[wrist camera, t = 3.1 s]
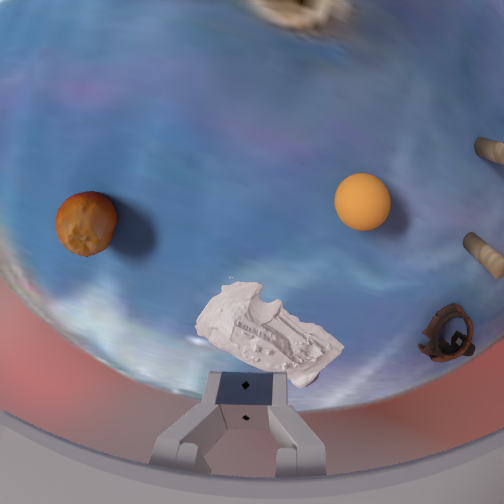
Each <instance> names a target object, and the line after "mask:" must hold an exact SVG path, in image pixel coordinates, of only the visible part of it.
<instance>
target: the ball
mask: <svg viewBox="0 0 504 504" xmlns="http://www.w3.org/2000/svg"><path fill="white" fill-rule="evenodd" d="M390 206H391V200H390V195H389V192H388V190H387V188H386V186H385V185H384V183H383V182H382V181H381V180H379V179H378V178H377V177H375V176H373V175H370V174H366V173H357V174H353V175H351V176H349V177H347V178H346V179H344V180H343V181H342V182H341V183H340V185H339V186H338V188H337V190H336V193H335V209H336V212H337V214H338V216H339V218H340V219H341V220H342V221H343V223H345V224H346V225H347V226H349V227H350V228H352V229H355V230H359V231H368V230H372V229H375V228H377V227H378V226H380V225H381V224H382V223H383V222H384V221H385V219H386V218H387V216H388V214H389V211H390Z"/></svg>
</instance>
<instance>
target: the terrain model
mask: <svg viewBox="0 0 504 504" xmlns="http://www.w3.org/2000/svg"><path fill="white" fill-rule="evenodd" d="M229 278H231V277H229ZM232 278H234V277H232ZM221 288H222V292H221V293H220V294H219V295H216V296H214V297H213V298H212V299H211V301H210V302H209V303H208V304H207V306H206V307H205V308H204V310H203V312H202V313H201V314H200V315H199V317H198V319H197V325H195V326H194V327H195V328H197V334H198V335H199V336H205V337H206V338H207V339H209V342H210V343H212V344H214V345H215V346H216V347H218V348H220V349H222V350H224V351H227V352H229V353H231V354H233V355H234V356H235V357H236V358H238V359H240V360H242V361H244V362H246V363H247V364H249V365H252V366H254V367H257V368H259V369H261V370H264V371H267V372H286V371H287V378H288V379H291V382H292V383H293V384H294V385H295V386H297V387H300V388H303V387H305V386H307V385H308V384H309V383H311V382H312V381H313V380H314V379H315V378H316V376H317V375H318V373H319V372H320V371H321V370H322V369H323V368H325V367H326V366H327V365H328V364H329V363H330V362H331V361H332V360H333V359H335V358H336V357H337V356H338V355H340V354H341V353H342V349H343V348H344V346H343V345H342V344H341V343H340V342H338V341H337V340H336V339H335V338H334V337H333V336H332V335H331V334H329V333H327V332H325V330H324V328H322V327H321V326H317V325H315V324H312V323H303V322H300V321H299V319H298V318H297V317H295V316H293V315H290V314H288V312H287V311H286V310H285V309H283V307H282V301H280V300H279V299H277V300H275V301H273V302H272V303H264V302H262V301H261V300H260V297H259V295H260V293H261V290H262V288H263V286H262V285H260V284H259V283H257V282H254V283H252V282H250V283H247V282H239V281H237V282H236V283H234V284H232V285H228V286H227V285H222V287H221Z"/></svg>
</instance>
